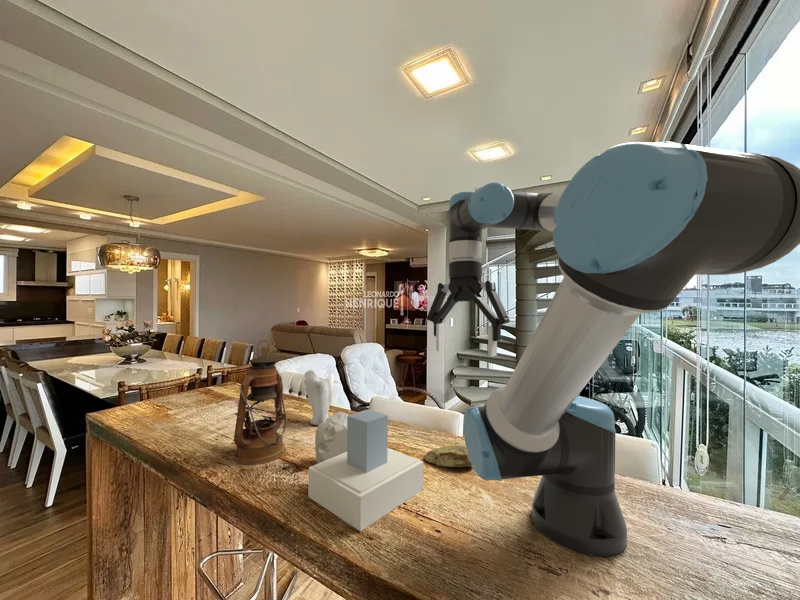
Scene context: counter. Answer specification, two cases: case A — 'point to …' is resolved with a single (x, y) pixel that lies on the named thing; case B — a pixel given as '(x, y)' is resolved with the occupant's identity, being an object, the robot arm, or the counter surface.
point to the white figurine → (319, 395)
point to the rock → (449, 456)
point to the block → (367, 440)
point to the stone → (331, 437)
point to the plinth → (364, 487)
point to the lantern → (261, 435)
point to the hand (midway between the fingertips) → (465, 353)
